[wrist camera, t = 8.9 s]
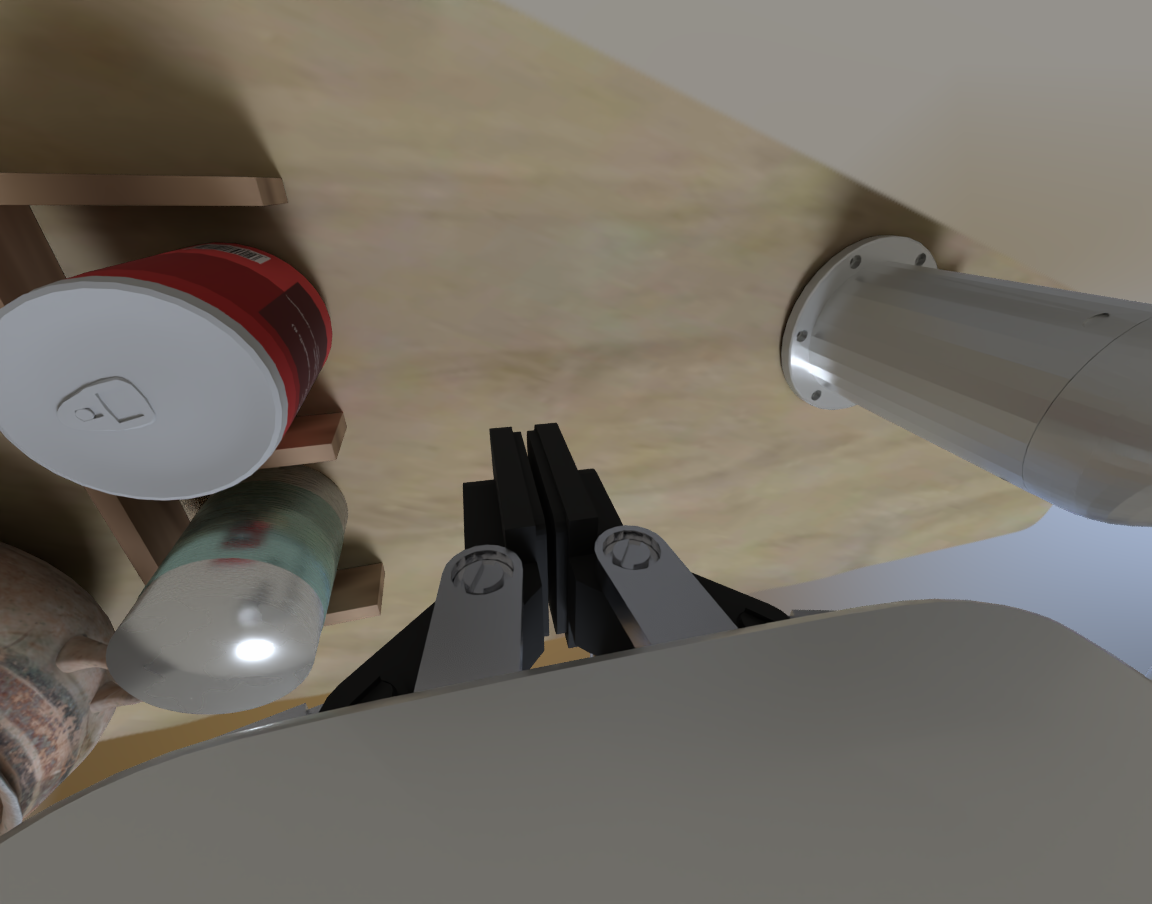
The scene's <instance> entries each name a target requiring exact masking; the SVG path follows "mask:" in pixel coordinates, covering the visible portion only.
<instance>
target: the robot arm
mask: <svg viewBox="0 0 1152 904" xmlns="http://www.w3.org/2000/svg"><path fill="white" fill-rule="evenodd" d="M781 356H782V369H783V372H784V376H785V379H786V381H787V383H788V385H789V387H790V388H791V390H792V391H793V392H794V393H795V394H796V395H797V396H798V397H799V398H800V399H802V400H804V401H805V402H807V403H809V404H810V405H812V406H815V407H818V408H821V409H829V410H836V409H845V408H848V407H852V406H855V405H859V406H861V407H863V408H865V409H867V410H869V411H871V412H872V413H874V414H876V415H878V416H880V417H882V418H884V419H886V420H888V421H890V422H892V423H894V424H896V425H898V426H900V427H902V428H904V429H906V430H908V431H910V432H912V433H914V434H915V435H917V436H919V437H921V438H923V439H925V440H927V441H929V442H931V443H933V444H935V445H937V446H939V447H941V448H943V449H945V450H947V451H949V452H951V453H953V454H955V455H957V456H959V457H960V458H962V459H964V460H966V461H968V462H970V463H972V464H974V465H976V466H978V467H980V468H982V469H984V470H986V471H988V472H990V473H992V474H994V475H996V476H998V477H1000V478H1002V479H1004V480H1006V481H1008V482H1010V483H1011V484H1013V485H1015V486H1017V487H1019V488H1021V489H1023V490H1025V491H1027V492H1029V493H1031V494H1033V495H1036V496H1038V497H1040V498H1042V499H1043V500H1045V501H1047V502H1049V503H1051V504H1053V505H1055V506H1057V507H1060V508H1062V509H1064V510H1066V511H1069V512H1071V513H1073V514H1076V515H1079V516H1082V517H1085V518H1089V519H1092V520H1096V521H1100V522H1105V523H1109V524H1117V525H1127V526H1141V527H1143V526H1144V527H1152V304H1147V303H1141V302H1136V301H1129V300H1123V299H1117V298H1111V297H1105V296H1099V295H1093V294H1087V293H1081V292H1075V291H1069V290H1063V289H1057V288H1051V287H1045V286H1038V285H1032V284H1026V283H1020V282H1014V281H1008V280H1002V279H996V278H990V277H984V276H978V275H972V274H966V273H960V272H954V271H947V270H941V269H938V268H937V265H936V262H935V260H934V258H933V256H932V255H931V253H930V251H929V250H928V249H927V248H926V247H925V246H923V245H922V244H921V243H920V242H918V241H915V240H913V239H911V238H908V237H901V236H894V235H878V236H874V237H870V238H866V239H863V240H861V241H859V242H857V243H854V244H852V245H850V246H848V247H847V248H845V249H844V250H842V251H841V252H839V253H838V254H837V255H835V256H834V257H832V258H831V259H830V260H829V261H828V262H827V263H826V264H825V265H824V266H823V267H822V268H821V269H820V270H819V271H818V272H817V273H816V274H815V275H814V277H813V278H812V279H811V280H810V282H809V283H808V284H807V285H806V287H805V288H804V290H803V292H802V293H801V295H800V296H799V298H798V300H797V301H796V303H795V305H794V308H793V310H792V312H791V314H790V317H789V319H788V322H787V325H786V329H785V332H784V336H783V343H782V351H781ZM490 442H491V453H492V464H493V475H494V480H485V481H476V482H467V483H463V506H464V539H465V550H463V551H462V552H460V553H459V554H457V555H455V556H454V557H453V558H452V559H451V560H450V561H449V562H448V563H447V564H446V566H445V569H444V571H443V573H442V577H441V581H440V585H439V589H438V593H437V598H436V601H435V602H434V603H433V604H432V605H431V606H430V607H428V608H427V609H426V610H425V611H424V612H423V613H421V614H420V615H419V616H418V617H417V618H416V619H414V620H413V621H412V622H411V623H410V624H409V625H408V626H406V627H405V628H404V629H403V630H402V631H401V632H399V633H398V634H397V635H396V636H395V637H394V638H392V639H391V640H390V641H389V642H388V643H387V644H386V645H384V646H383V647H382V648H381V649H380V650H379V651H377V652H376V653H375V654H374V655H373V656H372V657H370V658H369V659H368V660H367V661H366V662H365V663H364V664H362V665H361V666H360V667H359V668H358V669H357V670H355V671H354V672H353V673H352V674H351V675H350V676H348V677H347V678H346V679H345V680H344V681H343V682H342V683H340V684H339V685H338V686H337V687H336V689H335V690H334V691H333V692H332V693H331V694H330V695H329V696H328V697H327V699H326V701H325V703H324V704H321V705H319V706H316V707H314V708H311V709H308V707H307V705H306V703H304V704H302V705H299V706H296V707H294V708H291V709H289V710H286V711H283V712H281V713H278V714H276V715H273V716H270V717H268V718H265V719H263V720H260V721H258V722H255V723H252V724H250V725H247V726H245V727H242V728H239V729H236V730H234V731H231V732H229V733H226V734H223V735H221V736H218V737H216V738H213V739H210V740H207V741H203V742H200V743H197V744H194V745H191V746H187V747H184V748H181V749H178V750H175V751H172V752H169V753H166V754H164V755H161V756H159V757H156V758H154V759H151V760H149V761H146V762H144V763H141V764H139V765H136V766H134V767H131V768H129V769H126V770H124V771H121V772H119V773H116V774H114V775H112V776H110V777H108V778H106V779H104V780H102V781H100V782H98V783H96V784H94V785H92V786H90V787H88V788H86V789H84V790H82V791H79V792H77V793H75V794H73V795H71V796H69V797H67V798H65V799H63V800H61V801H59V802H57V803H55V804H53V805H52V806H50V807H48V808H46V809H45V810H43V811H41V812H39V813H38V814H36V815H34V816H33V817H31V818H29V819H27V820H25V821H24V822H22V823H20V824H19V825H17V826H16V827H14V828H13V829H11V830H9V831H8V832H6V833H5V834H3V835H2V836H0V904H1152V667H1151V668H1150V669H1149V670H1148V672H1147V673H1146V674H1145V676H1144V675H1143V674H1141V673H1140V672H1138V671H1137V670H1135V669H1134V668H1132V667H1131V666H1129V665H1127V664H1126V663H1125V662H1123V661H1122V660H1120V659H1119V658H1117V657H1116V656H1114V655H1113V654H1111V653H1110V652H1108V651H1106V650H1105V649H1103V648H1101V647H1100V646H1098V645H1096V644H1095V643H1093V642H1092V641H1090V640H1088V639H1087V638H1085V637H1084V636H1082V635H1080V634H1079V633H1077V632H1076V631H1074V630H1072V629H1070V628H1068V627H1066V626H1064V625H1063V624H1061V623H1059V622H1057V621H1055V620H1052V619H1050V618H1048V617H1044V616H1042V615H1040V614H1037V613H1033V612H1030V611H1026V610H1022V609H1019V608H1014V607H1010V606H1005V605H999V604H992V603H985V602H977V601H971V600H955V599H926V600H909V601H899V602H891V603H884V604H877V605H869V606H862V607H856V608H850V609H844V610H838V611H829V610H792V611H791V614H790V616H787V615H786V614H785V613H784V612H782V611H781V610H779V609H777V608H775V607H774V606H772V605H770V604H768V603H765V602H763V601H760V600H758V599H755V598H753V597H750V596H748V595H746V594H743V593H741V592H738V591H736V590H733V589H731V588H728V587H726V586H723V585H721V584H718V583H716V582H714V581H711V580H709V579H706V578H704V577H701V576H699V575H696V574H694V573H691V572H690V571H689V569H688V568H687V567H686V566H685V565H684V563H683V562H682V561H681V560H680V559H679V558H678V556H677V555H676V554H675V553H674V552H673V550H672V549H671V548H670V547H669V546H668V544H667V543H666V542H665V541H664V540H663V539H662V538H661V537H660V536H659V535H657V534H656V533H654V532H652V531H650V530H648V529H645V528H642V527H638V526H627V525H625V526H623V524H622V522H621V520H620V518H619V516H618V514H617V512H616V510H615V508H614V506H613V504H612V502H611V500H610V498H609V496H608V494H607V492H606V490H605V488H604V486H603V484H602V482H601V480H600V478H599V476H598V474H597V472H596V471H595V469H584V470H577V467H576V465H575V463H574V461H573V458H572V456H571V454H570V451H569V449H568V447H567V445H566V442H565V440H564V438H563V436H562V433H561V431H560V429H559V426H558V424H557V423H548V424H537V425H535V427H534V430H533V431H527V451H528V456H527V453H526V449H525V445H524V442H523V438H522V435H521V432H513V431H512V427H503V428H492V429H490ZM548 602H549V606H550V611H551V615H552V619H553V624H554V628H555V632H556V634H561V633H565V636H566V640H567V644H568V648H573V647H580V648H582V649H584V650H586V651H587V652H589V653H590V658H585V659H579V660H574V661H569V662H564V663H559V664H554V665H549V666H544V667H539V668H534V669H530V668H531V667H532V665H533V664H534V663H535V662H536V660H537V659H538V658H539V657H540V655H541V654H542V653H543V652H544V637H545V636H549V609H548Z"/></svg>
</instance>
